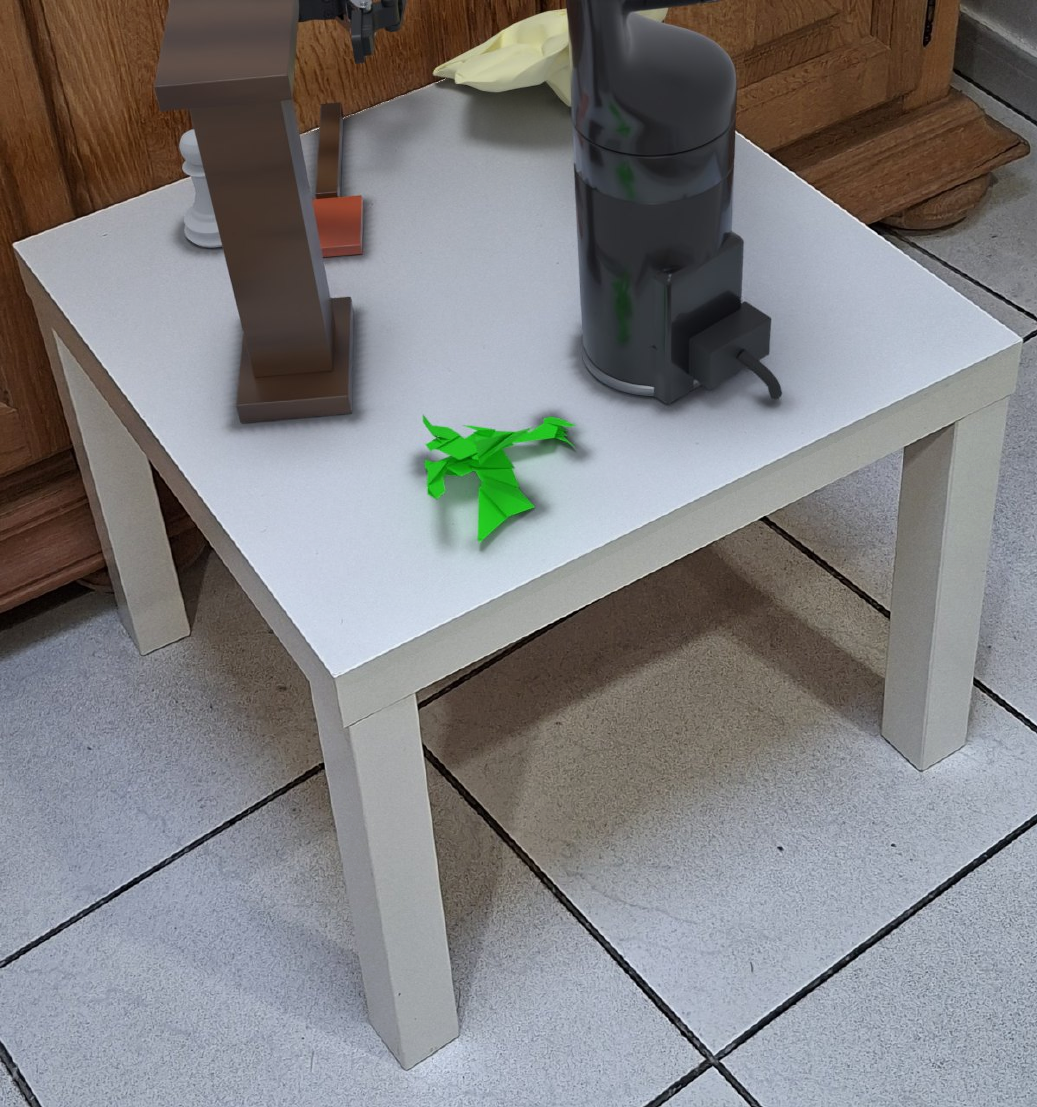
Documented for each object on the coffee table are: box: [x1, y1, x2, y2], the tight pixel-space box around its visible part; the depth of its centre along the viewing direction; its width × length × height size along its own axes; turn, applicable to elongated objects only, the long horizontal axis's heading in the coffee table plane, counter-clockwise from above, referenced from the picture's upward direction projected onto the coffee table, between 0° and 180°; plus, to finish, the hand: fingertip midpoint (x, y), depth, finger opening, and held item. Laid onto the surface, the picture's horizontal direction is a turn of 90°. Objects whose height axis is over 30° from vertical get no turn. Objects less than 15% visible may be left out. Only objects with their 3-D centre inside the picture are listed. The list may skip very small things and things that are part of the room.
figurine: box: [422, 414, 578, 543], centre depth 95 cm, size 6×12×9 cm
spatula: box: [312, 101, 364, 258], centre depth 119 cm, size 18×5×1 cm, turn 3°
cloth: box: [432, 8, 669, 108], centre depth 123 cm, size 22×19×6 cm
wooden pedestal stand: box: [153, 0, 355, 424], centre depth 97 cm, size 10×7×24 cm
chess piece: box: [178, 128, 223, 249], centre depth 113 cm, size 5×5×8 cm
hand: (308, 55), depth 112 cm, fingers open, 6 cm apart
